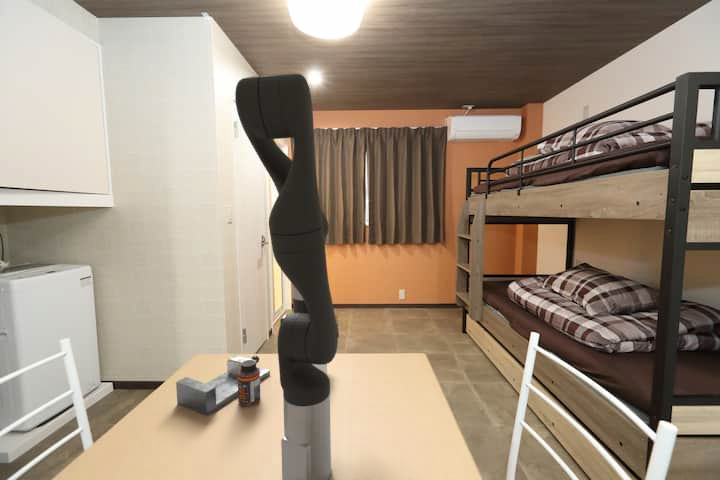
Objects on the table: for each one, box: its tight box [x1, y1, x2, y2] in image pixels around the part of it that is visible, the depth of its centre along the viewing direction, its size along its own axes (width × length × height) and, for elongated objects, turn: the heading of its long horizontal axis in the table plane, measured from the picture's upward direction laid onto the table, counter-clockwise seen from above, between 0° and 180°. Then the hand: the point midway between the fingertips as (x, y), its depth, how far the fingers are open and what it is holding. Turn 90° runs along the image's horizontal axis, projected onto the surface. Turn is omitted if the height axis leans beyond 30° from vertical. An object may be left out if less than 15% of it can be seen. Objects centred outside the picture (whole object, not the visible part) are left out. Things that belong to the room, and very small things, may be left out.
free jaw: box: [226, 354, 260, 376], centre depth 106 cm, size 9×9×5 cm
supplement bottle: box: [237, 360, 261, 407], centre depth 91 cm, size 6×6×11 cm
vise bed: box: [175, 366, 271, 417], centre depth 98 cm, size 24×12×6 cm, turn 154°
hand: (310, 356), depth 81 cm, fingers open, 8 cm apart
